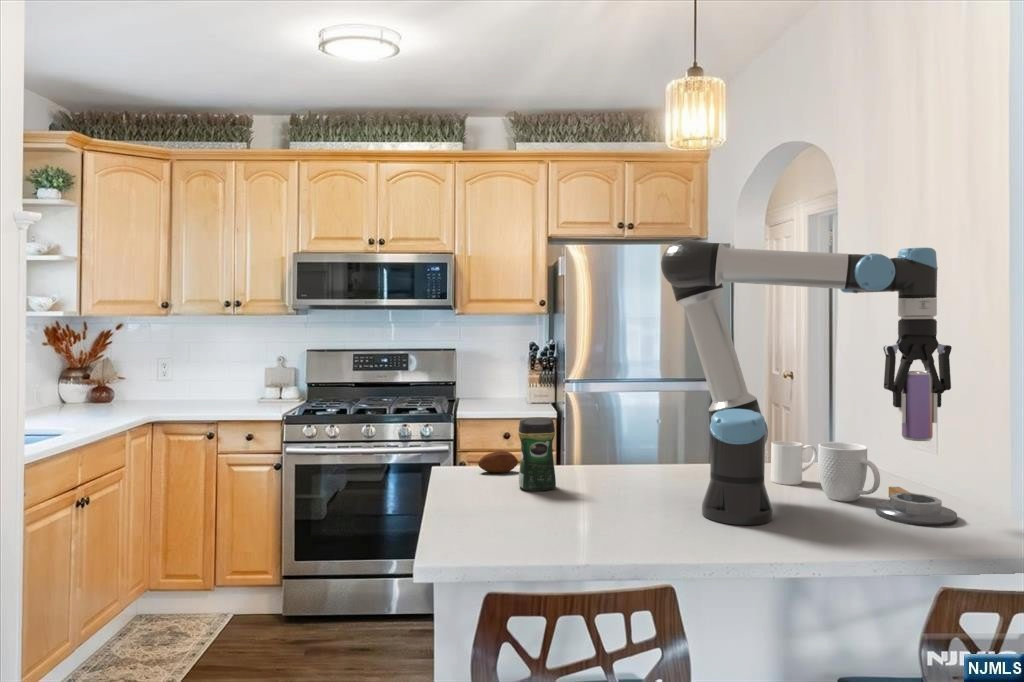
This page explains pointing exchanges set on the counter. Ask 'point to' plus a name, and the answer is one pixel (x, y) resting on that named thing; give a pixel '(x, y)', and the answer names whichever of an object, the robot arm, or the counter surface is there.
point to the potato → (498, 462)
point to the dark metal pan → (915, 509)
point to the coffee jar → (536, 454)
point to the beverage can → (918, 406)
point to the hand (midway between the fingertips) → (916, 421)
